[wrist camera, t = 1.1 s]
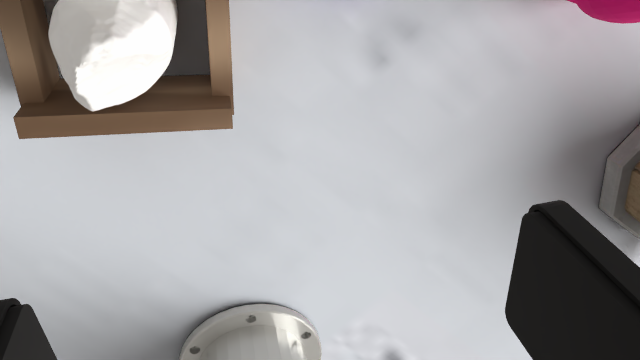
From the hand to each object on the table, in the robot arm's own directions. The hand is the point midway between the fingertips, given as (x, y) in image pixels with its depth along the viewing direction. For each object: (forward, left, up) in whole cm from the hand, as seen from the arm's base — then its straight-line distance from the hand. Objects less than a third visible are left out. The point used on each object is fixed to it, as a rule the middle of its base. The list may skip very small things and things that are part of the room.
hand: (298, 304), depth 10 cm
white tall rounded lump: (0, +6, -26) cm, 27 cm away
